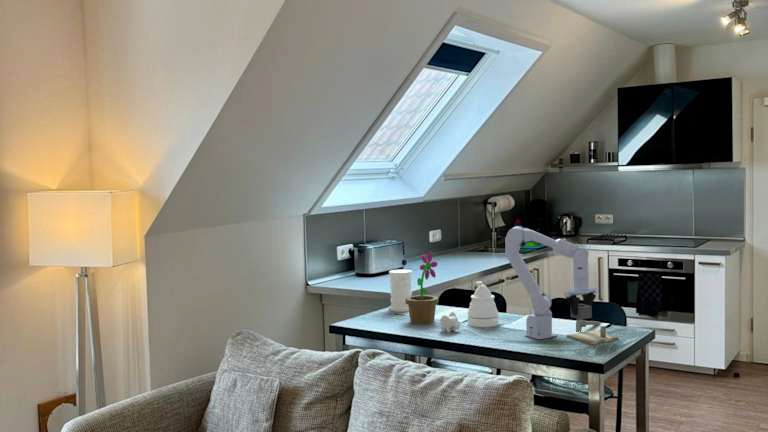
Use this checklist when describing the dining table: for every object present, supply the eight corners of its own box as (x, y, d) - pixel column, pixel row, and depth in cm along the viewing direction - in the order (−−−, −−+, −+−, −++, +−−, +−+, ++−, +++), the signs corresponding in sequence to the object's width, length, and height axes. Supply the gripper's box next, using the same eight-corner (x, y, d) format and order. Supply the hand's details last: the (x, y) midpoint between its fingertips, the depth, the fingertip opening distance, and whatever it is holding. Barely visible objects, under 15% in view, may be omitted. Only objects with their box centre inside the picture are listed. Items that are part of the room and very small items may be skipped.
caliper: (578, 334, 290) (578, 318, 290) (575, 333, 291) (575, 317, 290) (600, 324, 306) (600, 309, 305) (597, 324, 307) (597, 308, 306)
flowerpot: (445, 321, 317) (444, 252, 315) (419, 326, 309) (417, 255, 306) (425, 316, 329) (423, 249, 326) (399, 321, 320) (397, 252, 318)
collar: (580, 319, 278) (580, 307, 278) (570, 316, 283) (570, 305, 283) (591, 317, 281) (591, 306, 280) (581, 315, 286) (581, 303, 285)
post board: (590, 344, 272) (590, 331, 272) (566, 337, 284) (566, 324, 283) (618, 339, 279) (618, 326, 278) (594, 332, 290) (593, 320, 290)
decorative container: (395, 312, 339) (394, 273, 337) (385, 308, 349) (384, 270, 348) (418, 310, 343) (417, 271, 342) (407, 305, 354) (406, 268, 353)
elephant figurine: (456, 334, 293) (456, 316, 293) (435, 332, 299) (435, 314, 298) (465, 330, 300) (465, 313, 299) (444, 328, 305) (444, 311, 305)
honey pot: (484, 328, 303) (483, 285, 301) (461, 323, 312) (460, 281, 311) (504, 323, 311) (504, 281, 310) (481, 319, 321) (480, 278, 319)
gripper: (573, 281, 274) (573, 317, 275) (602, 277, 281) (602, 313, 282) (560, 279, 280) (560, 314, 281) (589, 275, 287) (589, 310, 288)
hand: (581, 313), depth 282 cm, fingers closed on collar, 6 cm apart
